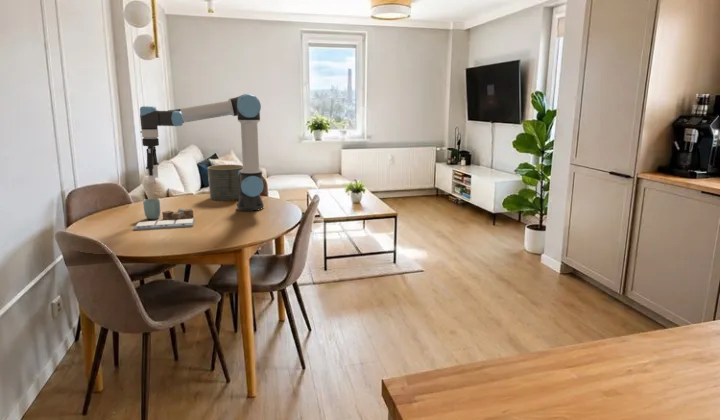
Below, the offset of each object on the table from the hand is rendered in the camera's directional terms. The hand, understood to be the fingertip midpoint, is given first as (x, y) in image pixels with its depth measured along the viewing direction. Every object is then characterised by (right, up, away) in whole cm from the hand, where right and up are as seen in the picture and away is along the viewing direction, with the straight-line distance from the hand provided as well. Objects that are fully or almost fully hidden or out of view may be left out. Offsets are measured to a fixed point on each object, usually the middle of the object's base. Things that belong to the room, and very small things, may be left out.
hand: (153, 179), depth 232 cm
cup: (-5, -20, +9) cm, 23 cm away
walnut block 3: (+13, -19, +13) cm, 27 cm away
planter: (+20, -8, +61) cm, 65 cm away
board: (+8, -23, -4) cm, 25 cm away
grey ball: (+8, -19, +16) cm, 26 cm away
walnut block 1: (+4, -20, +9) cm, 22 cm away
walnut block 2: (+10, -21, +6) cm, 24 cm away
